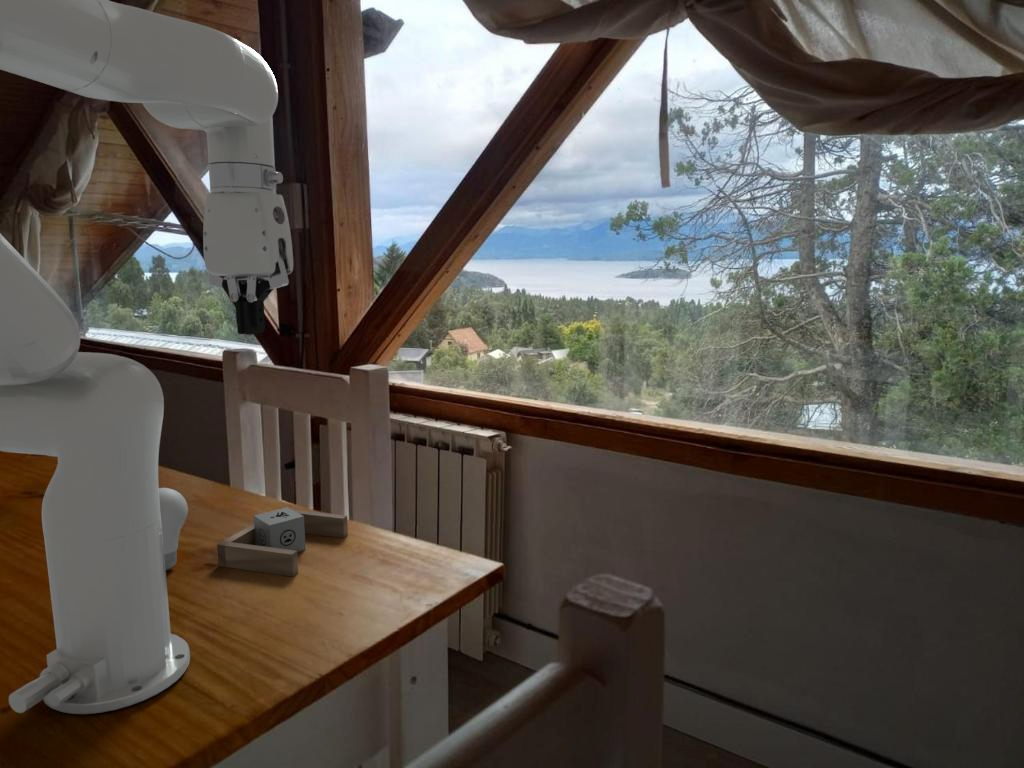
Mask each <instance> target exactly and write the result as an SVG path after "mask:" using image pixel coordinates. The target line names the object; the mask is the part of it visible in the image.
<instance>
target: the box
mask: <svg viewBox="0 0 1024 768" xmlns="http://www.w3.org/2000/svg"><path fill="white" fill-rule="evenodd" d="M282 508H283V507H282ZM282 508H281V507H279V509H282ZM291 509H292V508H291ZM292 510H293V511H295V512H297V513H299V514H301V515H303V516H304V529H305V534H309V535H316V536H324V537H325V536H326V537H334V538H341V539H345V538H346V537H347V536H348V535H349V529H348V515H346V514H345V515H344V514H337V513H336V514H335V513H327V512H317V511H308V510H299V509H292ZM216 550H217V562H218V567H223V568H231V569H238V570H245V571H250V572H251V571H252V572H259V573H266V574H274V575H280V576H287V577H294V576H296V575H297V574H298V573H299V561H298V559H299V558H298V552H297V551H295V550H287V549H279V548H272V547H264V546H256V545H255V532H254V523H252V524H250V525H248V526H247V527H245V528H243V529H242V530H239V532H236V533H234V534H233V535H231V536H229V537H228V538H226V539H225V540H223V541H221V542H219V543H217V544H216Z"/></svg>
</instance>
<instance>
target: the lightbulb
mask: <svg viewBox="0 0 1024 768" xmlns="http://www.w3.org/2000/svg"><path fill="white" fill-rule="evenodd" d="M159 500H160V512H161V523H162V535H163V547H164V559H165V571H169V570H170V569H171V568H173V567H174V566H175V565H176V564H177V563H178V561H177V559H178V557H177V556H178V554H177V550H178V548H179V536H180V533H181V530H182V529H183V527H184V524H185V522H186V519H187V517H188V512H189V508H188V507H189V506H188V503H187V500H186V498H185V497H184V496H183V495H182V494H181V493H180V492H178V491H177V490H175V489H172V488H169V487H159Z"/></svg>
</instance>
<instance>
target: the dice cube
mask: <svg viewBox="0 0 1024 768" xmlns="http://www.w3.org/2000/svg"><path fill="white" fill-rule="evenodd" d="M293 510H294V509H293ZM293 510H292V508H290V507H288V506H285V507H282V509H280V508H278V509H275V510H270V511H266V512H263V513H262V512H261V513H259V514H255V515H253V524H254V532H255V545H256V546H264V547H272V548H279V549H287V550H295V551H297V553H298V552H301V551H305V550H306V533H305V529H304V516H303V515H301V514H299V513H297V512H295V511H293Z"/></svg>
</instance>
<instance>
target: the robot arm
mask: <svg viewBox="0 0 1024 768" xmlns="http://www.w3.org/2000/svg"><path fill="white" fill-rule="evenodd" d="M0 70H1V71H4V72H7V73H10V74H13V75H17V76H21V77H23V78H26V79H30V80H32V81H36V82H39V83H43V84H46V85H49V86H51V87H55V88H58V89H61V90H64V91H66V92H70V93H73V94H75V95H76V94H77V95H79V96H82V97H85V98H89V99H95V100H101V101H109V102H118V103H130V104H131V103H133V104H142V105H143V107H144V108H145V110H146V111H147V112H148V113H149V115H150V116H152V118H154V119H155V120H157V121H158V122H160V123H162V124H164V125H166V126H168V127H171V128H175V129H182V130H195V131H204V132H205V134H206V145H207V159H208V160H207V161H208V176H209V191H210V192H209V193H206V197H205V202H204V203H205V204H204V212H203V228H202V229H203V231H202V232H203V235H202V237H203V238H202V240H203V241H202V243H203V247H202V248H203V259H204V260H203V261H204V266H205V269H206V271H207V272H208V273H209V275H208V282H209V284H210V285H211V286H216V287H218V288H223V290H225V291H226V293H227V294H228V295H229V298H230V301H231V302H233V303H235V318H236V320H235V321H236V326H237V334H239V335H257V334H263V333H265V324H266V321H265V316H266V315H265V302H267V301H268V299H269V296H270V295H271V293H272V292H273V290H275V289H279V288H282V287H283V288H284V287H285V286H288V285H289V283H290V280H289V276H288V275H290V274H292V272H294V271H293V270H294V253H293V251H294V250H293V243H292V242H293V241H292V235H291V227H290V223H289V216H288V212H287V208H286V204H285V201H284V197H283V195H282V194H277V184H282V183H283V181H284V177H283V176H284V175H283V174H282V172H281V171H276V166H275V163H276V162H275V147H274V145H275V143H274V141H275V139H274V125H273V123H274V122H273V121H274V119H273V115H274V114H275V112H276V110H277V108H278V102H279V91H278V84H277V80H276V78H275V75H274V74H273V73H274V72H273V71H272V70H271V68H270V66H269V65H268V63H267V62H266V61H265V60H264V58H263V57H262V56H261V55H260V54H259V53H258V52H256V51H255V50H254V49H253V48H251V47H250V46H248V45H246V44H245V43H244V42H241V41H240V40H238V39H236V38H234V37H233V36H231V35H229V34H227V33H225V32H223V31H220V30H218V29H216V28H212V27H209V26H207V25H203V24H200V23H196V22H191V21H190V20H185V19H182V18H177V17H173V16H169V15H165V14H161V13H158V12H154V11H151V10H147V9H143V8H140V7H136V6H133V5H127V4H124V3H118V2H116V1H111V0H0ZM78 324H79V323H77V320H76V318H75V316H74V314H73V312H72V311H71V309H70V308H69V307H68V305H67V304H66V303H65V301H64V300H63V299H62V298H61V296H60V295H59V294H58V293H57V292H56V291H55V290H54V288H52V286H51V285H49V283H47V282H46V280H45V278H43V277H42V275H40V274H39V273H38V272H37V271H36V269H34V267H33V266H32V265H31V264H30V263H29V262H28V261H27V260H26V259H25V258H24V257H23V256H22V255H21V254H20V252H18V251H17V249H15V247H14V246H13V245H12V244H11V243H10V242H9V241H8V240H7V239H6V238H5V237H4V236H3V235H2V233H0V452H5V453H13V454H27V455H42V456H47V457H54V458H55V457H57V465H56V468H55V471H54V473H53V475H52V477H51V479H50V481H49V482H48V483H49V484H48V485H47V488H46V490H45V492H44V494H43V495H44V496H43V499H42V504H41V525H42V533H43V538H44V539H43V541H44V548H45V549H44V550H45V556H46V557H45V558H46V565H47V574H48V582H49V583H48V584H49V591H50V601H51V609H52V619H53V625H54V627H53V628H54V634H55V644H56V649H54V650H51V652H49V653H47V654H46V656H45V657H46V664H47V667H46V668H44V669H42V670H41V671H40V673H39V677H38V678H36V679H34V680H31V681H30V682H28V683H26V684H24V685H22V686H21V687H20V688H17V689H16V690H15V691H13V692H12V693H10V694H9V696H8V704H9V705H10V707H11V709H12V710H13V711H14V712H16V713H18V714H23V713H25V712H26V711H28V710H30V709H31V708H32V707H34V706H35V705H37V704H38V703H40V702H41V701H43V702H44V704H45V705H46V706H48V707H49V708H50V709H52V710H55V711H58V712H62V713H66V714H72V715H89V714H90V715H91V714H102V713H106V712H112V711H116V710H119V709H123V708H127V707H130V706H133V705H135V704H139V703H141V702H144V701H145V700H148V699H150V698H153V697H154V696H157V695H158V694H161V692H163V691H164V690H167V689H168V688H169V687H171V686H172V685H173V684H174V683H175V682H177V681H178V680H179V679H180V678H181V677H182V675H184V673H185V672H186V671H187V668H188V667H189V665H190V661H191V653H190V646H189V644H188V642H187V641H186V640H185V639H184V638H182V637H180V636H178V635H177V634H173V633H172V632H171V621H170V610H169V608H170V607H169V598H168V596H169V595H168V585H167V572H166V571H167V570H165V559H164V547H163V535H162V523H161V512H160V500H159V488H160V486H159V455H160V454H159V453H160V444H161V435H162V428H163V420H164V410H165V402H164V401H165V399H164V392H163V389H162V387H161V383H160V382H159V380H158V379H157V377H156V376H155V374H154V373H153V372H152V371H151V370H150V369H149V368H147V367H146V366H145V365H144V364H142V363H140V362H138V361H137V360H134V359H131V358H129V357H126V356H120V355H117V354H112V353H104V352H91V351H89V352H87V351H86V352H85V351H84V352H83V351H79V350H80V347H81V334H80V328H79V325H78Z"/></svg>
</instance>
